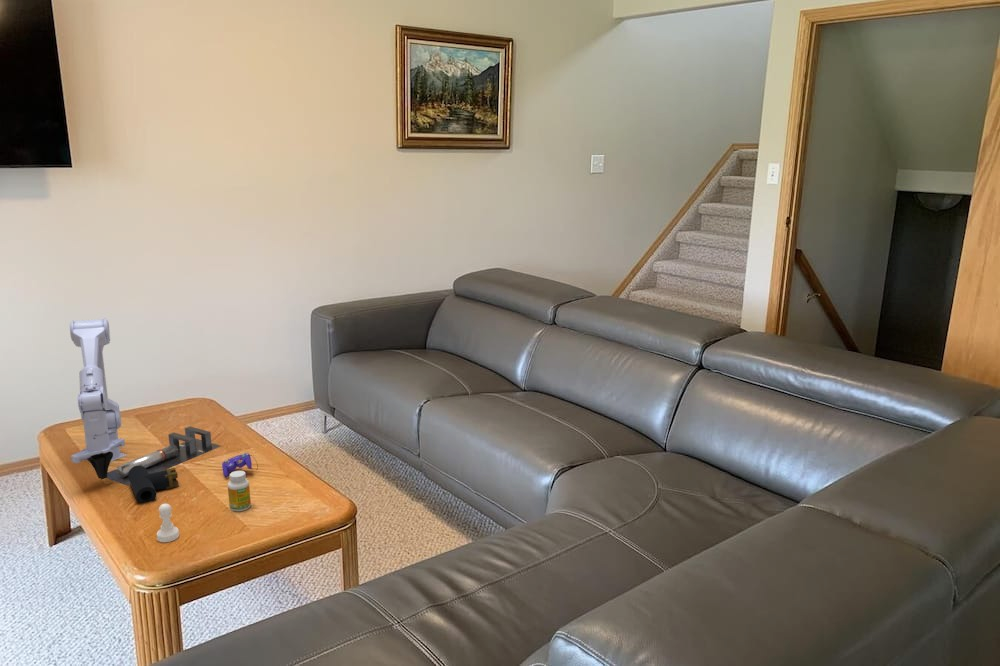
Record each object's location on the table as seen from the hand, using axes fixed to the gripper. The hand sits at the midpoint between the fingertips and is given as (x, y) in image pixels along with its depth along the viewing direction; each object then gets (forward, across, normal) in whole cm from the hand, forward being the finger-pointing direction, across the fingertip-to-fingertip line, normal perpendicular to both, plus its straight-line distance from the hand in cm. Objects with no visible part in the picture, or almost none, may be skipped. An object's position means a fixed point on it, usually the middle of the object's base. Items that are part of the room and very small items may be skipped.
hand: (102, 477), depth 210 cm
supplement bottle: (+3, +11, -43) cm, 44 cm away
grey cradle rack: (+3, +19, 0) cm, 19 cm away
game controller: (+3, +25, -26) cm, 36 cm away
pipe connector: (+3, +6, -15) cm, 16 cm away
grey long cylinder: (+2, +14, 0) cm, 15 cm away
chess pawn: (+3, -9, -40) cm, 41 cm away
